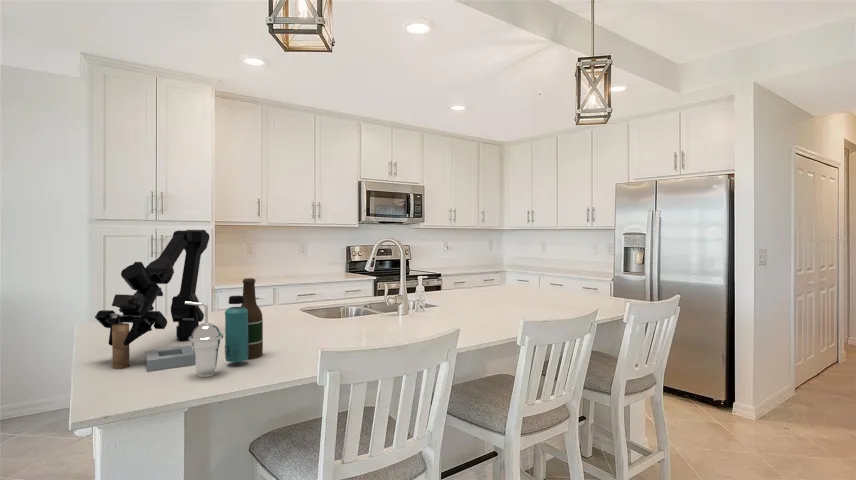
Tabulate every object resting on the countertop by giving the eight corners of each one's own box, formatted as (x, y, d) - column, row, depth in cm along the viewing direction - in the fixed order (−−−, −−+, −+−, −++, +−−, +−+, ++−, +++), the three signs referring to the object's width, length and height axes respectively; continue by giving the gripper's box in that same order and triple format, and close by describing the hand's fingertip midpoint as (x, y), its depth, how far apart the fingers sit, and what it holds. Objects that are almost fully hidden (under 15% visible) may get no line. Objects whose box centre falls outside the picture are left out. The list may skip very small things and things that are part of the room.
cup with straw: (210, 380, 120) (210, 303, 119) (179, 378, 121) (178, 302, 121) (230, 370, 128) (229, 298, 128) (200, 368, 130) (200, 297, 129)
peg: (129, 363, 134) (128, 322, 133) (129, 367, 130) (129, 325, 130) (112, 366, 131) (112, 324, 131) (112, 369, 128) (111, 326, 128)
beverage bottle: (253, 362, 136) (253, 294, 135) (237, 368, 130) (237, 297, 129) (236, 360, 138) (235, 293, 138) (219, 366, 132) (218, 296, 131)
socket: (190, 354, 143) (190, 345, 143) (195, 364, 133) (195, 354, 133) (145, 360, 137) (145, 350, 137) (147, 371, 127) (147, 360, 127)
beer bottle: (268, 354, 144) (267, 278, 144) (249, 361, 137) (248, 280, 137) (249, 351, 148) (249, 276, 147) (230, 357, 141) (229, 279, 140)
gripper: (99, 282, 135) (68, 328, 124) (160, 283, 134) (134, 329, 123) (119, 305, 143) (91, 350, 132) (177, 306, 142) (154, 351, 131)
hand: (117, 345), depth 129 cm, fingers closed on peg, 4 cm apart
